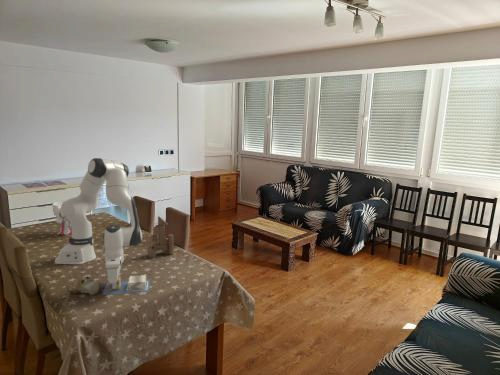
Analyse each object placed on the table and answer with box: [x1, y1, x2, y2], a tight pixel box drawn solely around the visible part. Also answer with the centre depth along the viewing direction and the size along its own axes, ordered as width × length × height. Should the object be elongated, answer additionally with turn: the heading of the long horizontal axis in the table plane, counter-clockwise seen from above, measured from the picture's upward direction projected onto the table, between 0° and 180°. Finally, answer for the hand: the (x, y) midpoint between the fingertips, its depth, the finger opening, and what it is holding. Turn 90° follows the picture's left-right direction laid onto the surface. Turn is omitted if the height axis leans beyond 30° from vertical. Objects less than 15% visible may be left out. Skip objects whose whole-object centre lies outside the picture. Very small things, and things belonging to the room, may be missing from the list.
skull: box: [52, 199, 72, 237], centre depth 259 cm, size 25×19×23 cm
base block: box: [128, 274, 147, 290], centre depth 183 cm, size 8×8×4 cm
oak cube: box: [109, 275, 122, 290], centre depth 180 cm, size 5×5×5 cm
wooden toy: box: [146, 215, 174, 259], centre depth 227 cm, size 16×7×25 cm, turn 122°
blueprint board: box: [101, 279, 151, 296], centre depth 182 cm, size 22×14×1 cm, turn 103°
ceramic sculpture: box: [67, 276, 101, 296], centre depth 176 cm, size 11×9×15 cm
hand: (115, 283), depth 180 cm, fingers open, 8 cm apart
